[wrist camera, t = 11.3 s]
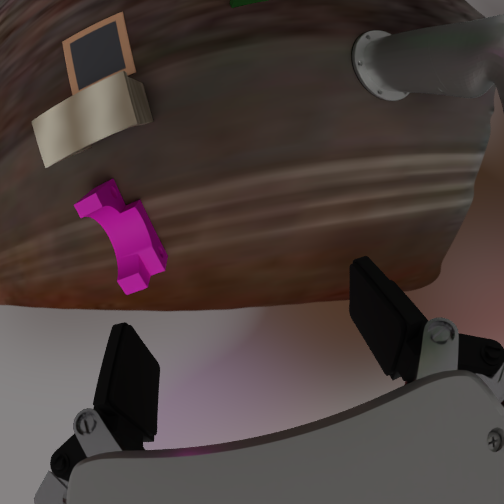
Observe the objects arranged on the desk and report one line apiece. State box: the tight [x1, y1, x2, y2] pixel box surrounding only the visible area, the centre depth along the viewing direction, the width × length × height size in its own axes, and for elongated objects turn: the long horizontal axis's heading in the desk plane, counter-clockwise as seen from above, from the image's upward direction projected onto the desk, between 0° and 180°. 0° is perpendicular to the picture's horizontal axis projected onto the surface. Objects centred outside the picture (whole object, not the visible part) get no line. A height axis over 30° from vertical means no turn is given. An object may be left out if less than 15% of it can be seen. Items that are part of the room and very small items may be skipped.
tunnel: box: [32, 71, 154, 168], centre depth 25 cm, size 12×6×11 cm, turn 102°
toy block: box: [74, 179, 168, 295], centre depth 35 cm, size 15×6×8 cm, turn 16°
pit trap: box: [63, 12, 136, 95], centre depth 25 cm, size 10×11×1 cm
